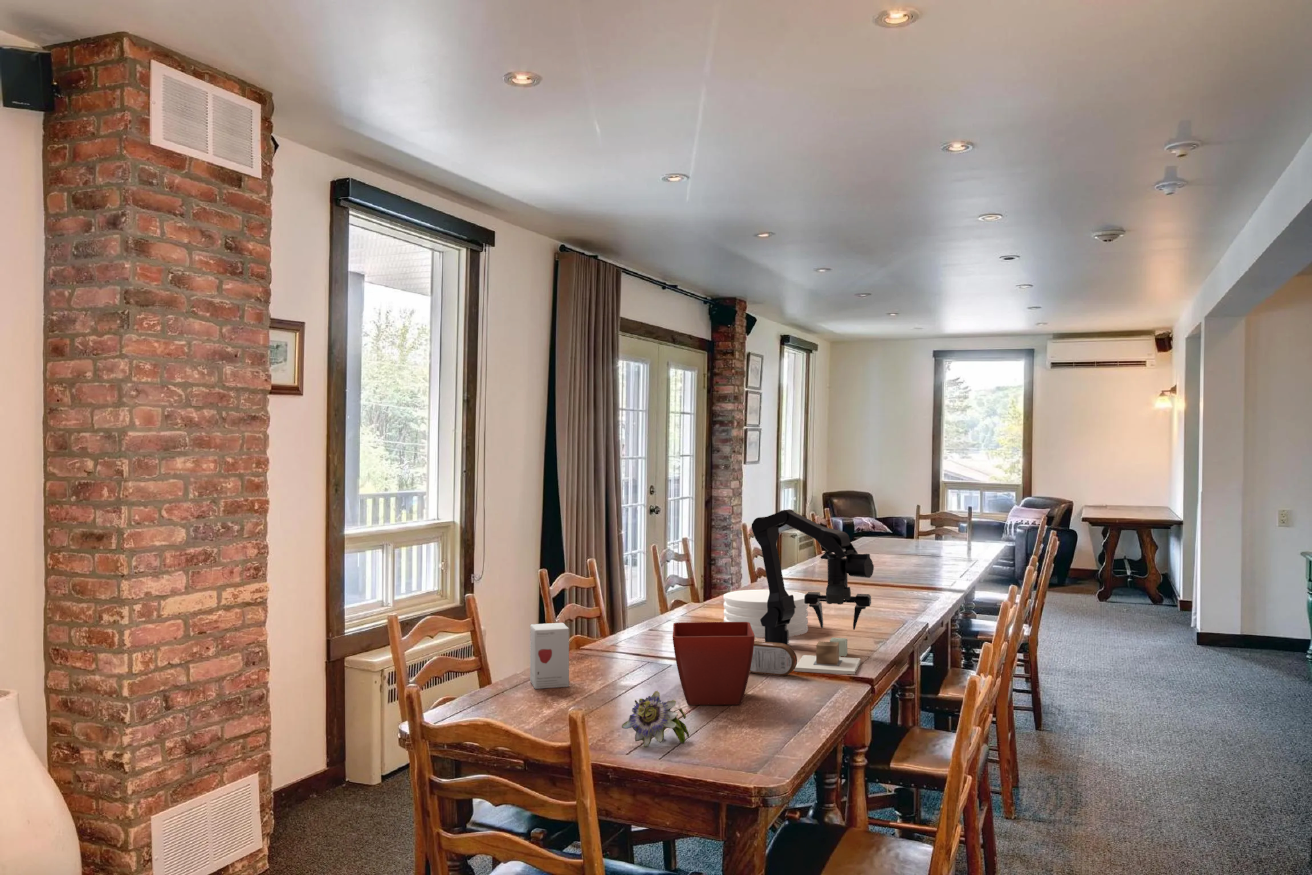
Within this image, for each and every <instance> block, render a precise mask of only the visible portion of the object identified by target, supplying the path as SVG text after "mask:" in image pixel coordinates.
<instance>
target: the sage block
mask: <svg viewBox="0 0 1312 875" xmlns="http://www.w3.org/2000/svg"><path fill="white" fill-rule="evenodd" d="M829 642H839V657H841V656H844V657H846V658H847V655H848V638H847V637H845V638H844V637H831V638H830V639H829Z"/></svg>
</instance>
